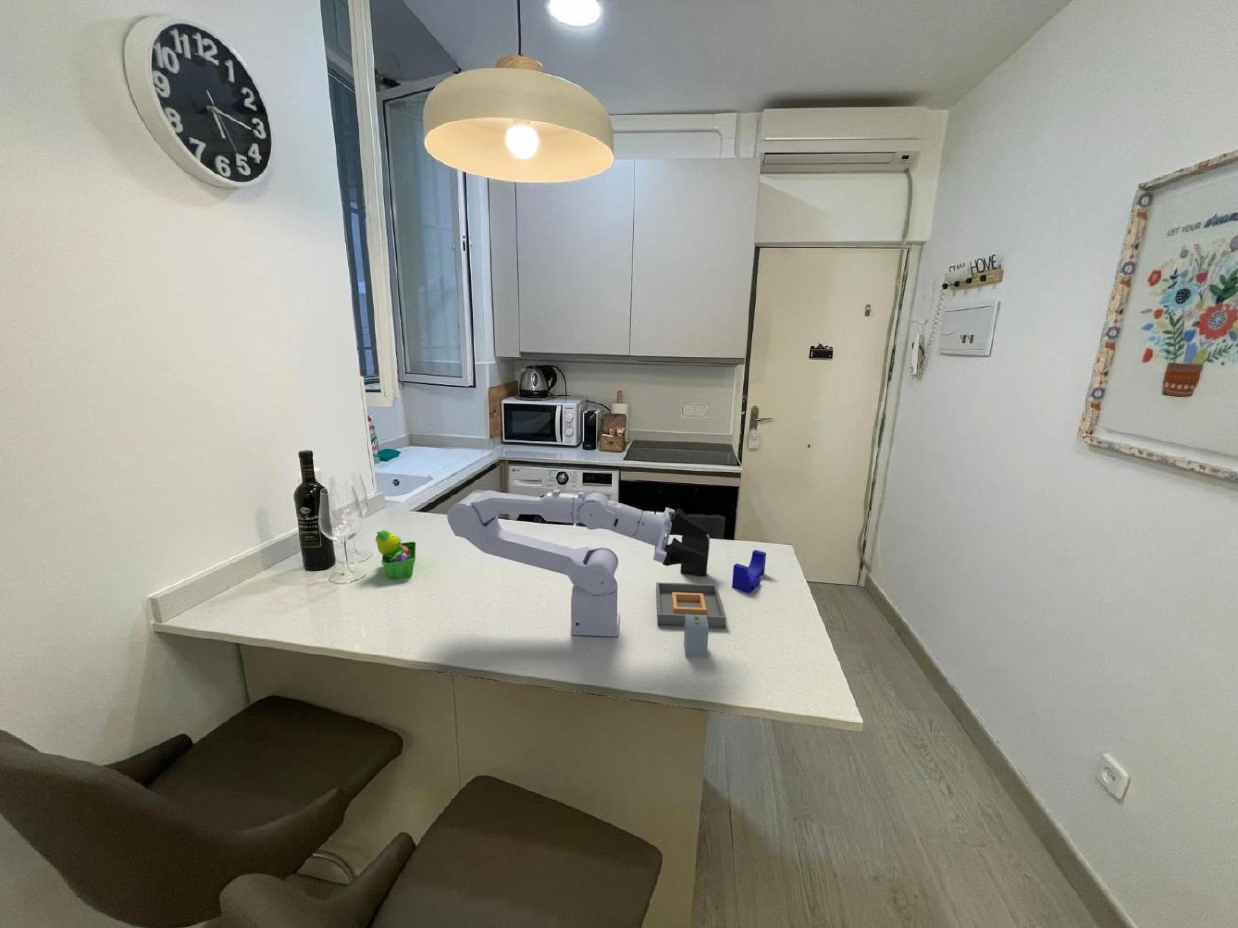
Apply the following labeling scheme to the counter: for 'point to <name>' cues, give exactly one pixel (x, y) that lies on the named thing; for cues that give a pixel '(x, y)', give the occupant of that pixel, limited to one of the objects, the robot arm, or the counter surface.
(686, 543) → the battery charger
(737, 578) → the cable clip
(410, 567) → the fruit basket
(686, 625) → the connector plug
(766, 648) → the counter surface
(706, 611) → the box
